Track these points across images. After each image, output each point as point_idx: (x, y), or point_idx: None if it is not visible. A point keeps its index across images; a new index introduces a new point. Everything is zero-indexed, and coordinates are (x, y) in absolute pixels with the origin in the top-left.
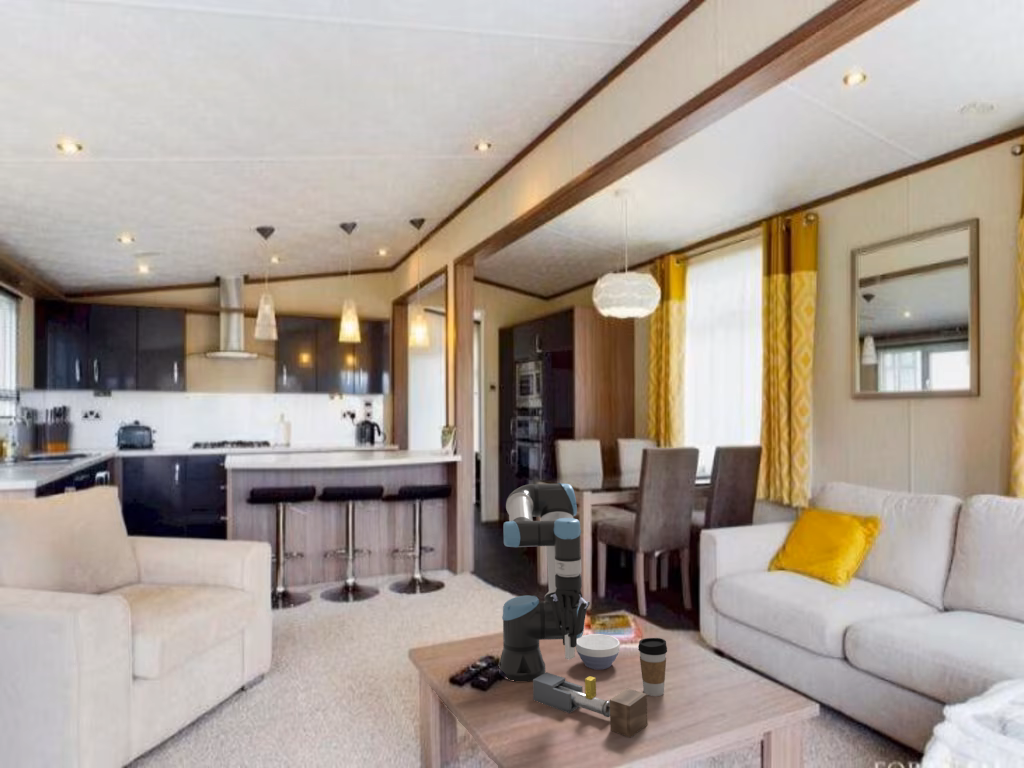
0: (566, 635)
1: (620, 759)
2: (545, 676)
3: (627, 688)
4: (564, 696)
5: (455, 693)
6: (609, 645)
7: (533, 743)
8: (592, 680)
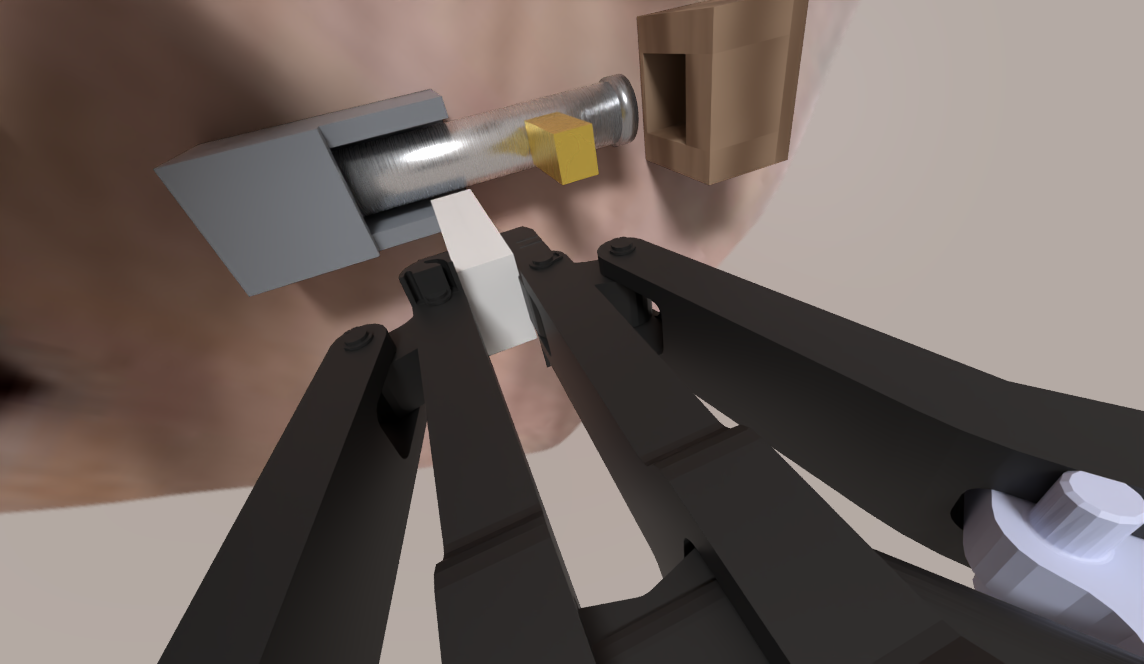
0: (502, 344)
1: (736, 244)
2: (232, 216)
3: (717, 12)
4: None
5: (33, 488)
6: None
7: (548, 378)
8: (595, 159)
